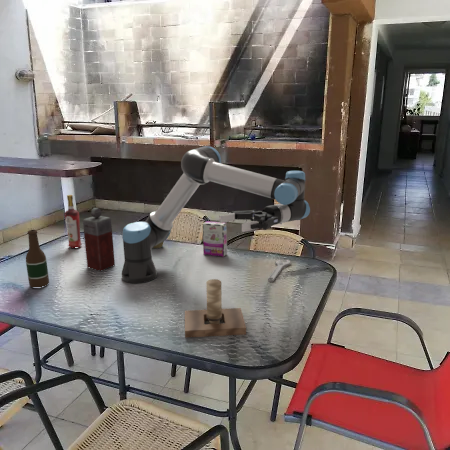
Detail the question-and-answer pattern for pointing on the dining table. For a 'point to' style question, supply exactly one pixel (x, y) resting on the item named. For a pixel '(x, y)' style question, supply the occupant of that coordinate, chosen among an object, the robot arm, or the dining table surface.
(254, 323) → the dining table surface
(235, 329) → the walnut board
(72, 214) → the liquor
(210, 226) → the candy bar box
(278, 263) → the adjustable wrench
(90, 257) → the red square decanter
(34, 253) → the beer bottle
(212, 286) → the birch peg
